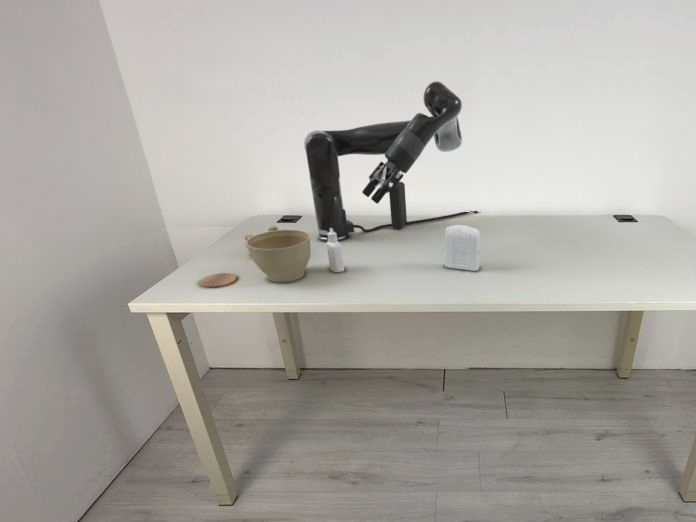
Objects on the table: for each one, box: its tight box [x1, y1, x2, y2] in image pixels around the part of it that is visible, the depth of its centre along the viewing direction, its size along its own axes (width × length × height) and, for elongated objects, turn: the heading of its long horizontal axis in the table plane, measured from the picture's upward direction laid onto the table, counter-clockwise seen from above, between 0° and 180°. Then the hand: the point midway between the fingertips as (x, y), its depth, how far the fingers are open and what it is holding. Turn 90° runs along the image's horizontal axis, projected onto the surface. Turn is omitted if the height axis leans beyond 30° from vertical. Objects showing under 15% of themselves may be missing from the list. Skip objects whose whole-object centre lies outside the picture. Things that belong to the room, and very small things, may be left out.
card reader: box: [388, 181, 408, 230], centre depth 169 cm, size 9×4×15 cm, turn 172°
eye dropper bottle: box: [326, 228, 345, 273], centre depth 133 cm, size 4×6×12 cm
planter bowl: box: [245, 229, 312, 283], centre depth 128 cm, size 16×16×11 cm
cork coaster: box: [199, 273, 237, 289], centre depth 128 cm, size 9×9×1 cm
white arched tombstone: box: [444, 224, 481, 272], centre depth 134 cm, size 10×4×12 cm, turn 72°
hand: (369, 198), depth 130 cm, fingers open, 8 cm apart
